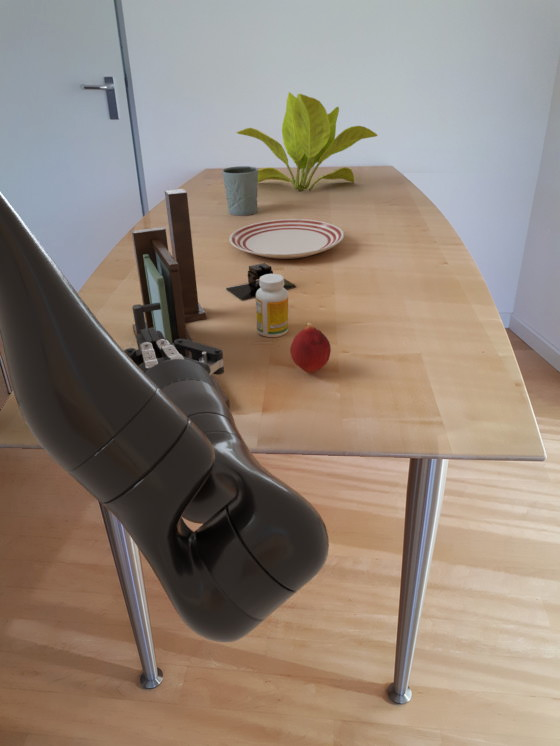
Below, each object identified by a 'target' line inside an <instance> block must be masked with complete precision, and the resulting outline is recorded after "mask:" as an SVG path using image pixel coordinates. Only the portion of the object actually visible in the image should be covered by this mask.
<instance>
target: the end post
mask: <svg viewBox="0 0 560 746" xmlns="http://www.w3.org/2000/svg"><path fill="white" fill-rule="evenodd" d="M164 198H165V207H166V215H167V222H168V223H167V224H168V230H169V239H170V247H171V255H172V257H173V258H174V259H175V261H176V262H177V263H178V268H179V276H180V285H181V293H182V302H183V310H184V318H185V324H186V323H190V322H196V321H201V320H206V319H207V312H206V311H205V310H204V308H203V306H202V305H201V304H200V303H199V296H198V288H197V275H196V266H195V261H194V260H195V257H194V249H193V247H194V246H193V237H192V228H191V218H190V217H191V216H190V209H189V198H188V192H187V191H186V190H185V189H184V188H177V189H176V188H175V189H167V190H164Z"/></svg>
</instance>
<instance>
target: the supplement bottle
mask: <svg viewBox="0 0 560 746" xmlns="http://www.w3.org/2000/svg"><path fill="white" fill-rule="evenodd" d="M284 279H285V277H284V276H283V275H281V274H279V273H273V274H266V275H263V276H261V277H260V279H259V280H260V284H259V285H260V288H259V289H258V290H257V292H256V297H255V311H256V313H255V314H256V315H255V316H256V317H255V318H256V331H257V333H258V334H259V335H261V336H263V337H265V338H279V337H281V336H284V335H286V334H287V333H288V331H289V293H288V289H287V290H286V289H285V288H283V286H284Z"/></svg>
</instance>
